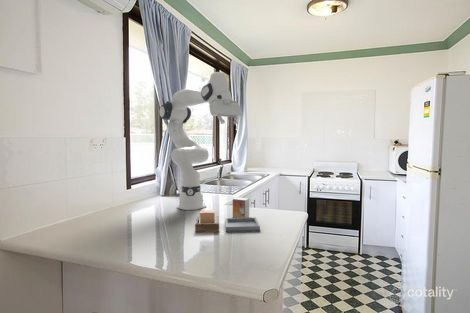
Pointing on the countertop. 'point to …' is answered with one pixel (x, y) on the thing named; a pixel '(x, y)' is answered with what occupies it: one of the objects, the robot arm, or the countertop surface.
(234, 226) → the grey tray
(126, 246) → the countertop surface
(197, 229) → the walnut bay
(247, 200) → the small box
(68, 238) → the countertop surface
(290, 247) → the countertop surface
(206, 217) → the tan wooden block
